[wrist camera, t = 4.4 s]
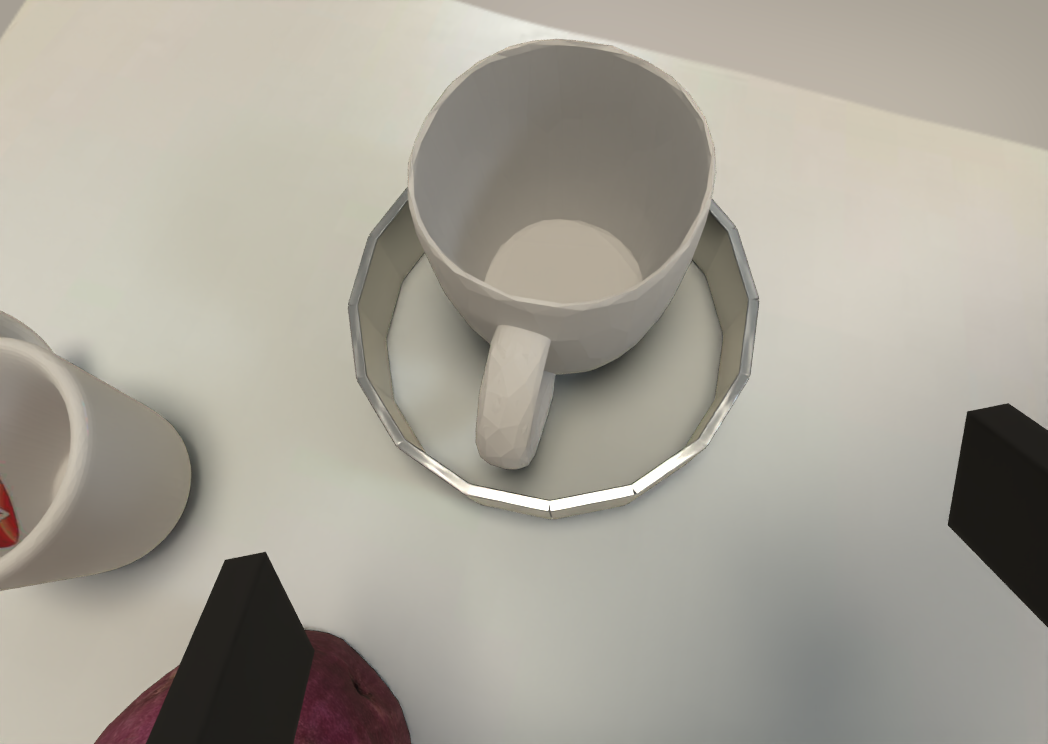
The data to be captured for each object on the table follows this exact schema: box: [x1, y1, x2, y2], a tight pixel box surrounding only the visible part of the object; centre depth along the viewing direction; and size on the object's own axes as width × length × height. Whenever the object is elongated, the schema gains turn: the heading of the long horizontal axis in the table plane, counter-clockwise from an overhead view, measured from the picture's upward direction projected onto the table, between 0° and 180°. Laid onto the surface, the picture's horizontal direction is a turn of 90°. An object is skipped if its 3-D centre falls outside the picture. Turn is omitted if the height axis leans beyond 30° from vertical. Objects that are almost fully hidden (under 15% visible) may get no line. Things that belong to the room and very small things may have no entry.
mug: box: [407, 39, 716, 469], centre depth 23 cm, size 13×9×10 cm
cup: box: [0, 311, 191, 591], centre depth 24 cm, size 11×8×8 cm
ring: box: [348, 187, 759, 519], centre depth 26 cm, size 15×15×4 cm
